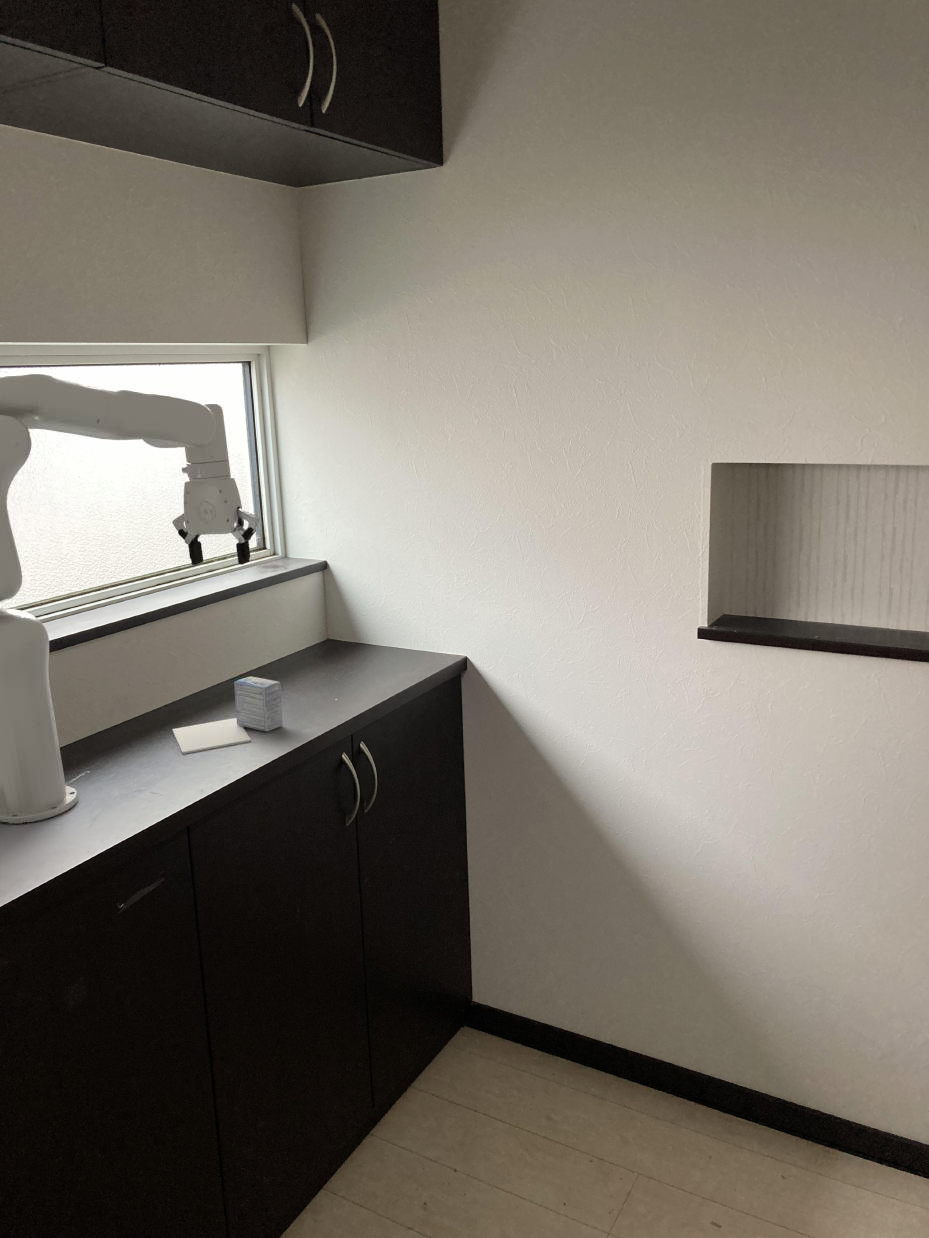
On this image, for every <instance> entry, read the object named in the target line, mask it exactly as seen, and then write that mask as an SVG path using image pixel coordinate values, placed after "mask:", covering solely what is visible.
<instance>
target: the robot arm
mask: <svg viewBox="0 0 929 1238" xmlns="http://www.w3.org/2000/svg"><path fill="white" fill-rule="evenodd" d="M223 410H224V409H223V407H222V405H221V404H220V403H219V402H216V401H203V402H201V401H196V400H191V399H186V398H183V397H178V396H172V395H168V394H159V393H153V392H145V391H139V390H133V389H128V388H121V387H113V386H108V385H103V384H99V383H93V382H88V381H83V380H80V379H74V378H72V377H66V376H63V375H57V374H53V373H49V372H47V373H46V372H26V373H25V372H24V373H15V374H13V373H12V374H4V375H1V376H0V603H3V602H6V601H9V600H12V599H13V598H14V597H15V596H16V595H17V594H18V593H19V592H20V590H21V587H22V585H23V573H22V571H23V570H22V566H21V565H22V564H21V562H20V558H19V553H18V551H17V545H16V541H15V538H14V532H13V529H12V525H11V522H10V517H9V515H10V514H9V511H8V503H7V502H8V495H9V489H10V488H11V484H12V482H13V480H14V479H15V477H16V475H17V474H18V472H19V471H20V470H21V468H22V467H23V466H24V465H25V463H27V460H28V459H29V456H30V454H31V451H32V437H31V436H32V435H31V432H30V430H46V431H52V432H57V433H63V434H71V435H78V436H82V437H83V436H84V437H88V438H95V439H98V440H99V439H100V440H112V441H133V440H138V441H139V440H142V441H143V442H144V443H145V444H147V445H149V446H151V447H154V448H159V449H174V448H175V449H177V448H184V452H185V460H186V462H185V465H183V466H182V467H181V473H182V474H187V477H188V479H187V480H185V481H184V484H183V485H184V487H183V513H182V514H180V515H178V516H176V518H174V519H173V520H172V522H171V523H172V525H173V527H174V528H175V530H176V531H177V534H178V535H179V536H180V538H182V540H184V543H185V544H186V545H188V547H187V548H188V554H189V559H190V561H191V565H192V566H196V565H199V564H201V563H204V556H203V555H204V554H203V547H202V542H201V541H199V539H200V537H201V536H202V535H208V536H209V535H227V534H228V535H229V534H231V535H232V536H233V537H234V538H235V539H236V540H237V543H236V544H235V548H236V555H237V563H238V565H245V564H247V563H249V562H250V558H251V550H250V543H249V542H250V541H251V539H252V538H253V536H254V535H255V533H256V532H257V528H258V525H259V522H260V518H259V517H258V516H256V515H255V514H252V513H250V512H249V511H247V510H246V509H243V506H242V501H241V496H240V491H239V488H238V486H237V485H238V484H237V482H236V480H235V477H234V476H231V467H230V458H229V457H230V456H229V451H228V444H227V443H228V442H227V436H226V435H227V434H226V424H225V417H224V416H225V415H224V411H223ZM245 521H246V522H248V524H247V528H246V529H245V528H244V526H245ZM49 660H50V638H49V634H48V631H47V628H46V627H45V626H44V624H43V622H42V621H41V620H40V619H39V618H37V617H36V616H34V615H33V614H31V613H29V612H26V611H24V610H20V609H19V610H18V609H15V608H14V609H13V608H4V607H0V821H2V822H9V823H8V824H26V823H25V822H27V823H32V822H37V821H42V820H47V819H48V818H50V819H51V817H56V816H57V815H60V814H62V813H64V812H67V811H68V810H69V809H71V808H73V806H74V805H76V804H77V802H78V800H79V795H78V794H79V793H78V791H77V790H76V788H74V787H72V786H68V785H66V781H65V774H64V768H63V761H62V756H61V754H62V753H61V750H60V749H61V748H60V743H59V737H58V730H57V724H56V718H55V712H54V707H53V701H52V694H51V687H50V686H51V685H50V678H49V677H50V676H49V674H50V673H49ZM2 822H1V823H2ZM23 822H24V823H23Z"/></svg>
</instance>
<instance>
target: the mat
mask: <svg viewBox="0 0 929 1238" xmlns="http://www.w3.org/2000/svg"><path fill="white" fill-rule="evenodd" d="M172 732H173V735H174V738H175V739H176V742H177V745H178V747H179V750H180V751H181V753H182V755H186V754H191V753H197V752H202V751H207V750H214V749H219V748H224V747H229V746H234V745H240V744H245V743H250V742H252V738H251V737H250V736H249V734H248V732H247V731H246V730H245V729H244V726H240V725H237V719H236V717H234V718H228V719H227V718H226V719H223V720H222V719H221V720H217V721H215V720H214V721H211V722H210V721H209V722H206V723H199V724H194V725H189V726H183V727H178V728H172Z"/></svg>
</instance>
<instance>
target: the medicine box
mask: <svg viewBox="0 0 929 1238" xmlns="http://www.w3.org/2000/svg"><path fill="white" fill-rule="evenodd" d="M233 684H234V698H235V699H234V700H235V701H234V702H235V713H236V714H235V716H236V717H235V718H236V719H237V725H240V726H242V727H243V728H244V727H245V728H250V729H254V730H259V731H263V732H270V731H273V730H275V729H278V728H281V727H283V724H284V723H283V721H284V720H283V709H282V705H283V703H282V691H281V690H282V689H281V682H280V681H279V680H278V681H277V680H272V679H267V678H261V677H256V676H247V677H244V678H241V679H237V680H236V681H234V682H233Z"/></svg>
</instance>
